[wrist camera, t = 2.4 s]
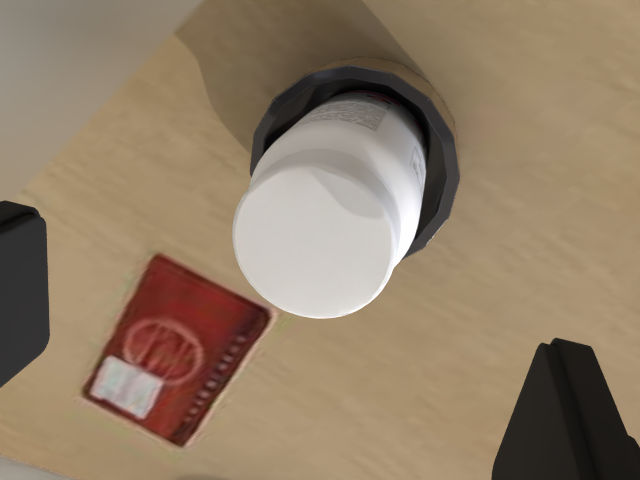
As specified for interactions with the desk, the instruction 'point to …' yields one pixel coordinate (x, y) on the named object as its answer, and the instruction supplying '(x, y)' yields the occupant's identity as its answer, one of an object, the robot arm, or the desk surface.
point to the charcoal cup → (404, 90)
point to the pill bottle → (333, 206)
